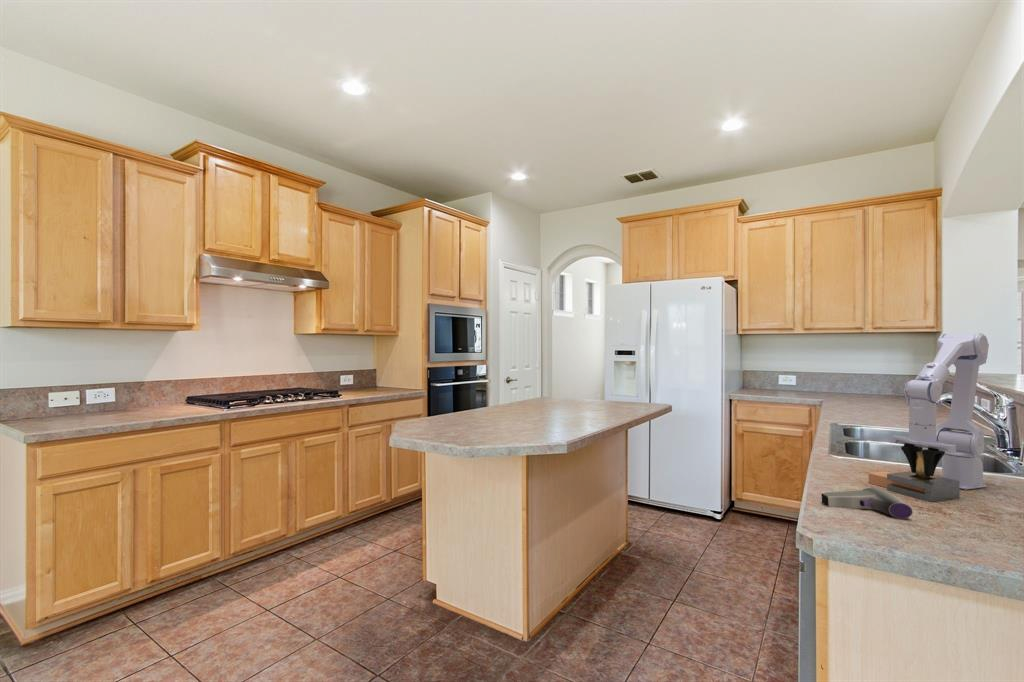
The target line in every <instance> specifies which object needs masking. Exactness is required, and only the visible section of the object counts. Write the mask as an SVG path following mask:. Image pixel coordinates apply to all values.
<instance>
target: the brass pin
mask: <svg viewBox="0 0 1024 682" xmlns="http://www.w3.org/2000/svg"><path fill="white" fill-rule="evenodd" d="M915 478H918V479H923V480H930V476H926V474H925V460H924V456H923V452H922V451H915Z"/></svg>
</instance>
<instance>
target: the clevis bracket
mask: <svg viewBox="0 0 1024 682" xmlns="http://www.w3.org/2000/svg"><path fill="white" fill-rule="evenodd" d="M887 479H888V480H892V481H896V482H900V483H904V484H908V485H912V486H916V487H920V488H924V489H925V492H922V491H918V490H915V489H911V488H907V487H903V486H899V485H895V484H888V485H887V488H886V490H887V491H890V492H893V493H897V494H901V495H904V496H909V497H912V498H915V499H918V500H922V501H926V502H930V503H935V502H942V501H949V500H956V499H960V494H961V493H960V489H961V488H960V481H957V480H952V479H948V478H943V477H942V476H938V475H934V476H930V480H923V479H918V478H915V473H912V472H911V470H909V471H898V472H890V474H887Z"/></svg>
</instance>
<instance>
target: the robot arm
mask: <svg viewBox="0 0 1024 682" xmlns="http://www.w3.org/2000/svg"><path fill="white" fill-rule="evenodd" d="M988 341H989V340H988V338H987V336H986V335H985V334H984V333H981V332H979V333H941V334H940V336H939V337H938V338H937V341H936V344H937V345H936V346H937V350H938V352H937V354H936V355H935V357H934V359H933V361H932V362H927V363H926V364H924V366H923V367H922V369H921V371H920V372H919V373H918V375H916V376H915V379H911V380H909V381H907V382H906V383H905V385H904V389H903V395H904V397H905V401H906V402H905V403H906V406H907V407H908V436H904V435H891V443H894V444H901V445H902V446H900V449H901V452H903V453H904V455H905V457H906V459H907V461H908V465H909V467H910V471H911V472H912V473H915V451H922V452H923V456H924V460H925V474H926V476H935V472H936V468H937V466H938V464H939V462H940V460H941V477H943V478H948V479H952V480H957V481H960V489H963V490H974V489H981V488H987V484H984V465H983V461H982V460H981V458H979V456H981V454H983V453H984V451H985V445H986V444H985V438H984V437H985V433H984V431H983V429H981V427H979V426H978V425H976V424H975V423H974V422H973V414H974V410H975V409H974V408H975V399H976V391H977V385H978V383H977V382H978V376H979V372H980V371H979V370H980V366H981V365H985V364H986V363H987V359H988V353H989V342H988ZM952 365H953V366H954V367H955V373H954V380H953V388H952V394H951V402H950V403H951V404H950V410H949V418H948V419H946V420H943V421H942V422H940V423H938V425H937V403H938V402H939V400H941V397H942V392H943V388H944V387H943V385H944V384H945V382H946V380H947V379H948V378H949V376H950V373H951V372H950V369H949V368H950V367H951V366H952Z"/></svg>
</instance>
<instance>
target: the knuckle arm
mask: <svg viewBox="0 0 1024 682" xmlns="http://www.w3.org/2000/svg"><path fill="white" fill-rule="evenodd" d="M890 473H891V472H890V471H877V472H868V484H871V485H874V486H878V487H881V486H882V488H886V489H887V485H888V484H895V485H899V486H903V487H907V488H911V489H915V490H918V491H922V492H925V489H924V488H920V487H916V486H912V485H908V484H904V483H900V482H896V481H892V480H888V479H887V474H890Z"/></svg>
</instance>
